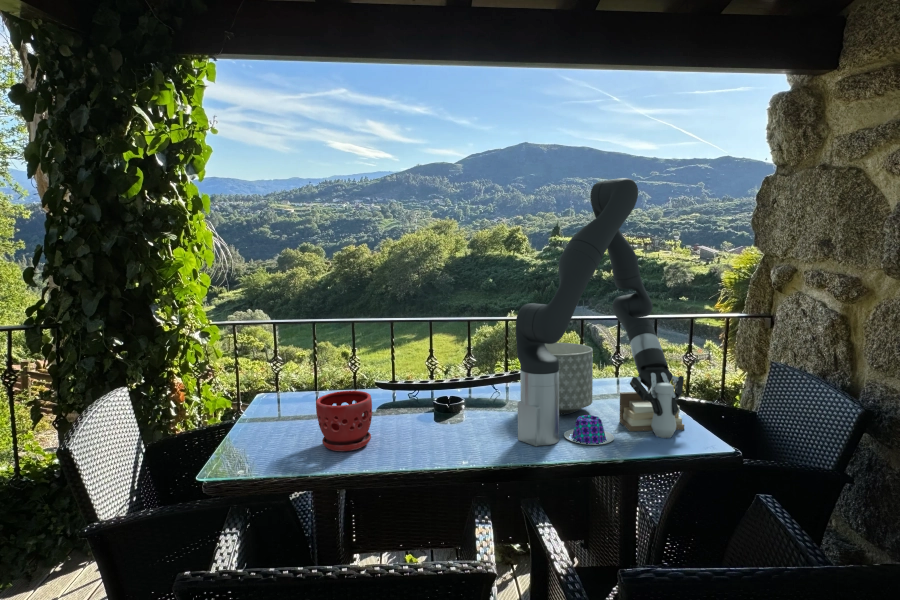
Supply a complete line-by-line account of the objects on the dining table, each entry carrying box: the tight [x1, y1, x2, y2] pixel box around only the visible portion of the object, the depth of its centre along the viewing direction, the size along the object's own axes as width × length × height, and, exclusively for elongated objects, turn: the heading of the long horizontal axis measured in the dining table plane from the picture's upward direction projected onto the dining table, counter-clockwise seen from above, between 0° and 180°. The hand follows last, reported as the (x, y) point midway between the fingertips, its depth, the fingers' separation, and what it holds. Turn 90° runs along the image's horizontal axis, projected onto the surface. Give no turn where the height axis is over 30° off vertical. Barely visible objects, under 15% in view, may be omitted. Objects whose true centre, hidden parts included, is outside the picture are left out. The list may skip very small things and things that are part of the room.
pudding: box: [563, 414, 615, 446], centre depth 135 cm, size 12×12×5 cm
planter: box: [545, 342, 594, 416], centre depth 158 cm, size 19×19×18 cm
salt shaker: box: [651, 383, 677, 439], centre depth 136 cm, size 6×6×13 cm
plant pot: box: [315, 390, 373, 452], centre depth 133 cm, size 13×13×12 cm
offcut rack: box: [619, 391, 685, 432], centre depth 143 cm, size 8×14×8 cm, turn 92°
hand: (667, 414), depth 134 cm, fingers closed on salt shaker, 3 cm apart
